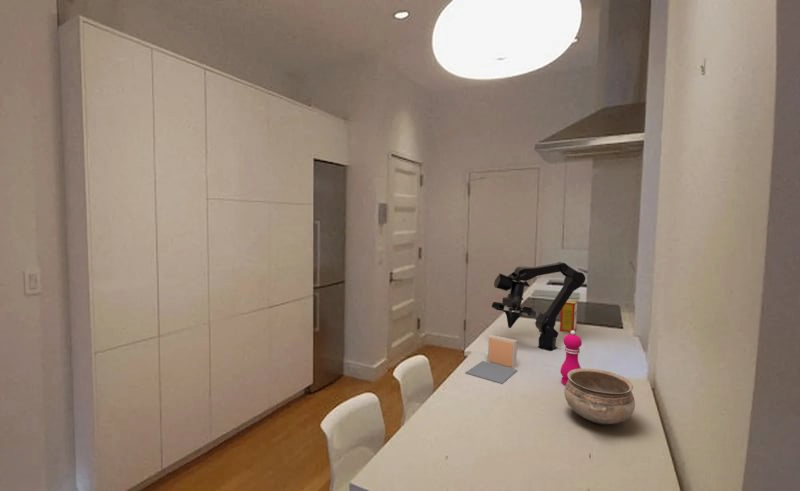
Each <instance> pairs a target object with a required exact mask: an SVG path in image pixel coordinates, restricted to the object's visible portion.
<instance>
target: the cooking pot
mask: <svg viewBox="0 0 800 491" xmlns="http://www.w3.org/2000/svg"><path fill="white" fill-rule="evenodd" d="M568 378H569V379H568V381H567V384H566V386H565V385H564V390H563V391H564V392H563V393H564V398H565V400H566V402H567V405H568V406H569V407H570V408H571V409H572V411H573V412H575V414H577V415H579V416H580V417H582V418H583V419H585V420H587V421H588V422H590V423H592V424H595V425H601V426H605V425H606V426H607V425H613V424H619V423H623V422H625V421H627V420H628V419H629V418H630V417H631V416H632V415H633V413H634V412H635V408H636V402H635V397H634V393H633V392H632V391H633V389H634V386H633V383H632V382H631V381H630V380H629V379H627V378H625V377H624V376H621V375H620V374H617V373H614V372H611V371H607V370H603V369H597V368H589V367H587V368H586V367H585V368H582V367H581V369H574V370H572V371H570V372H569V373H568Z"/></svg>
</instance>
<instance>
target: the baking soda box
mask: <svg viewBox="0 0 800 491" xmlns="http://www.w3.org/2000/svg"><path fill="white" fill-rule="evenodd" d="M578 303H579V302H578V299H577V300H576V299H570V298H569V299H568V300H567V302H566V303H565V305H564V306H563V308H562V309H561V311H560V319H559V320H560V322H559V332H563V333H570V332H571V331H572V330H574V331H575V332H576V330H577V323H578V321H577V319H578Z"/></svg>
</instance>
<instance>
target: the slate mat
mask: <svg viewBox="0 0 800 491" xmlns="http://www.w3.org/2000/svg"><path fill="white" fill-rule="evenodd" d="M517 372H518V369H516V368H514V369H512V368H508V367H504V366H500V365H497V364H493V363H489V362H488V361H485V360H481V361H480V362H479V363H477V364H475V365H474V366H472V367H471V368H470V369H468V370H467V371H465V374H467V375H470V376H473V377H477V378H480V379H484V380H486V381H491V382H492V383H497V384H500V385H503V384H504V383H506V382H507V380H508V379H510V378H511V377H512V376H514V374H516V373H517Z"/></svg>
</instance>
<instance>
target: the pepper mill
mask: <svg viewBox="0 0 800 491" xmlns="http://www.w3.org/2000/svg"><path fill="white" fill-rule="evenodd" d="M576 333H577V332H576V330H575V331H574V330H572V331H571V332H570V334H566V335H565V336H564V337H563V345H564V351H565V360H564V362H563V363H562V365H561V367H560V370H559V371H560V374H561V382H560V383H561V384H562V385H563V386H564V387H565V386H566V384H567V381H568V379H569V378H568V373H569V372H570V371H572V370H574V369H581V368H582V367H581V365H580V363H579V354H581V353H580V352H581V348H580V347H581V346H582V343H583V342H582V338H581V337H580V336H579V335H577V334H576Z"/></svg>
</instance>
